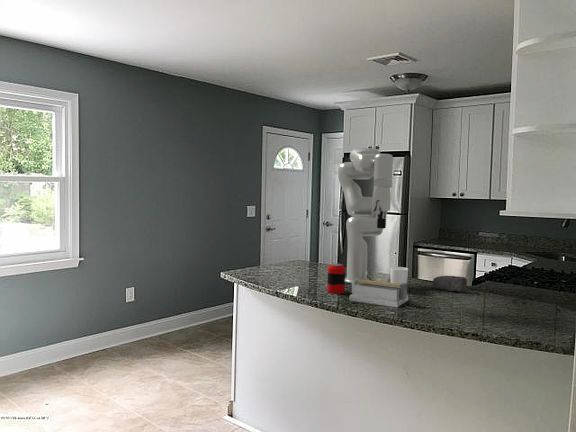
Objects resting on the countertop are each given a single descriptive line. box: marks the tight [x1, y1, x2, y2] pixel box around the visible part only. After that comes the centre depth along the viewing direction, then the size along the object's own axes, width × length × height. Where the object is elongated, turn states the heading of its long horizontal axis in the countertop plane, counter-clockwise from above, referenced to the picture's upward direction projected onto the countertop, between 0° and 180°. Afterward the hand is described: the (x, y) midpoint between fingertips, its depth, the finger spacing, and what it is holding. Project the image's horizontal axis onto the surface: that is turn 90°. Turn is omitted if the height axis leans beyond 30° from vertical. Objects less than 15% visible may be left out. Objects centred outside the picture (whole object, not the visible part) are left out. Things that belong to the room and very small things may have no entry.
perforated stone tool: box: [431, 275, 468, 293], centre depth 222 cm, size 15×5×7 cm, turn 54°
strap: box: [356, 279, 401, 287], centre depth 201 cm, size 4×18×1 cm, turn 60°
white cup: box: [389, 266, 409, 284], centre depth 220 cm, size 8×8×10 cm
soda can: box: [326, 263, 346, 295], centre depth 215 cm, size 8×8×12 cm
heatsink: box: [349, 278, 409, 308], centre depth 201 cm, size 14×22×8 cm, turn 60°
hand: (381, 228), depth 205 cm, fingers closed
